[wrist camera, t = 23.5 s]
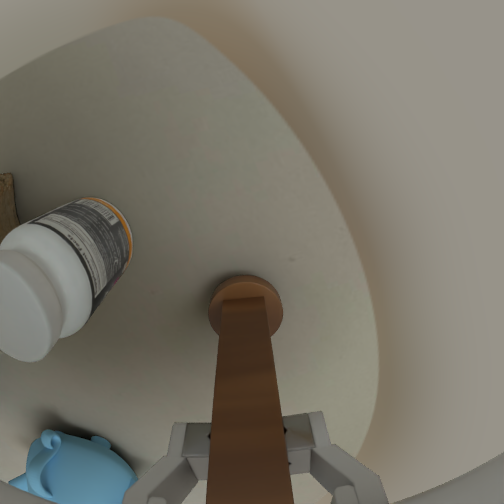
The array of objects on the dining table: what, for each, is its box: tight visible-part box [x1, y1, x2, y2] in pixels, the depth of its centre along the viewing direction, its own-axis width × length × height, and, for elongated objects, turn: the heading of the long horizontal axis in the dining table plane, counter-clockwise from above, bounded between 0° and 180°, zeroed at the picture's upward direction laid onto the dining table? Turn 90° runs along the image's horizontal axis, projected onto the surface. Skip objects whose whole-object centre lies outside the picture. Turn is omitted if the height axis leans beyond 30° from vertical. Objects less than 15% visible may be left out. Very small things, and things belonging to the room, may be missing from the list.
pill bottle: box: [0, 197, 133, 362], centre depth 14 cm, size 6×6×10 cm
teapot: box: [8, 429, 138, 504], centre depth 22 cm, size 20×17×12 cm
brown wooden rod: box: [206, 275, 294, 504], centre depth 13 cm, size 4×4×14 cm
